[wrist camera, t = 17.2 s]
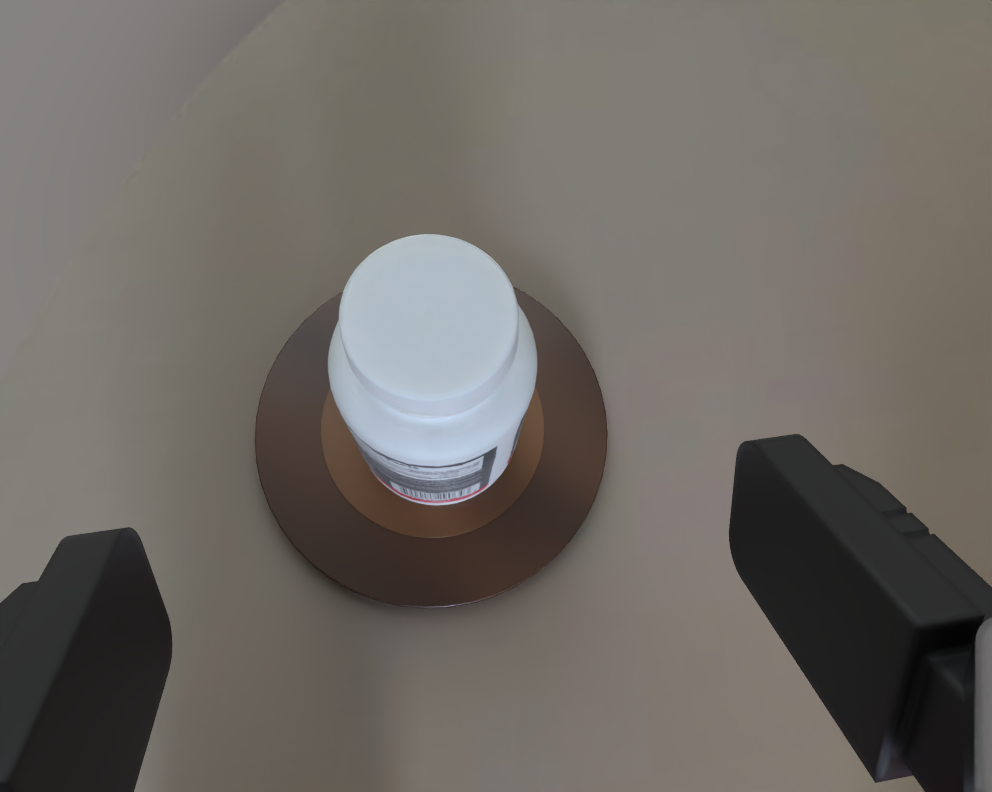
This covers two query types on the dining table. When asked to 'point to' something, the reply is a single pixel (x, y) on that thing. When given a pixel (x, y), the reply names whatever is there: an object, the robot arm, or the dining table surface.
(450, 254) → the pill bottle
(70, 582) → the robot arm
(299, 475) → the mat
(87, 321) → the dining table surface
